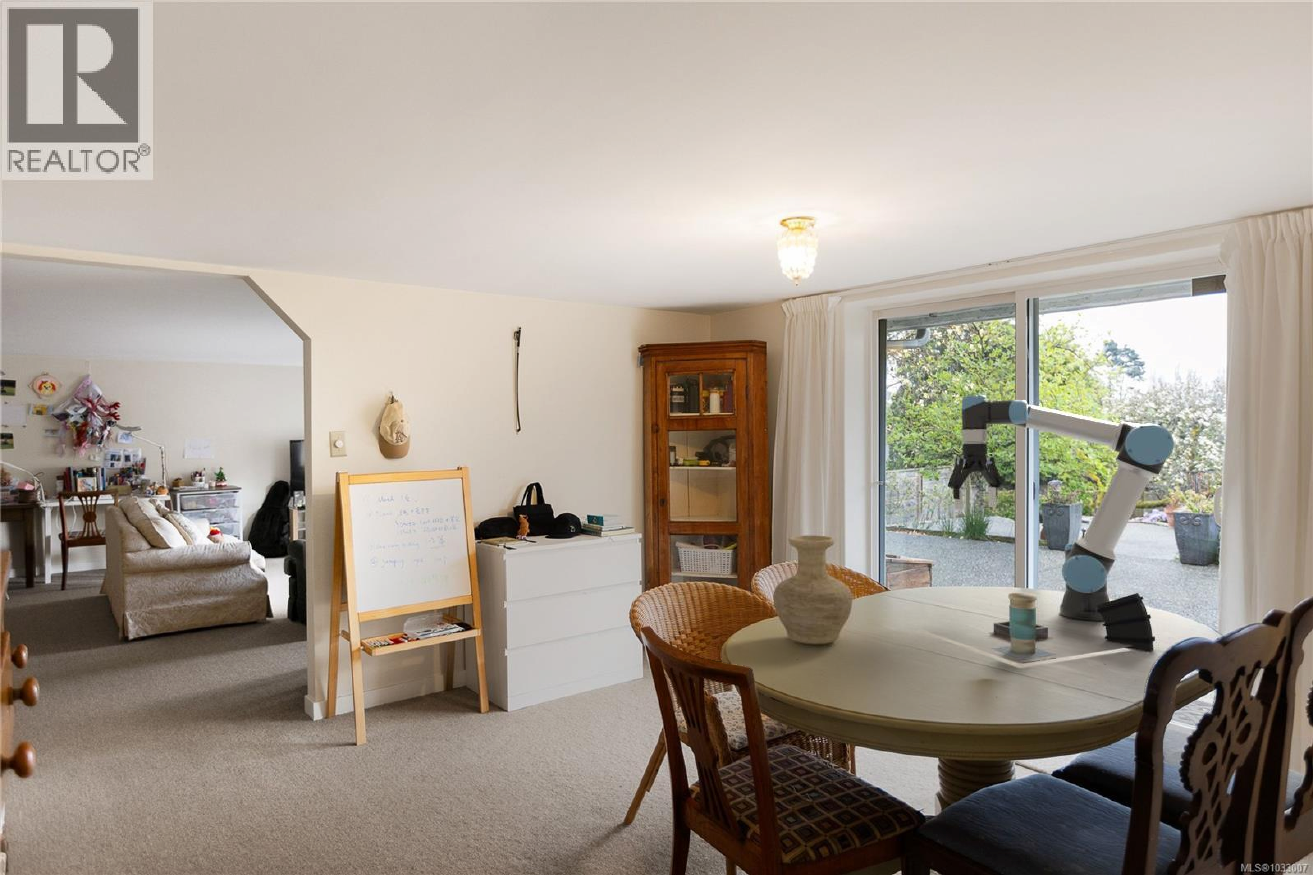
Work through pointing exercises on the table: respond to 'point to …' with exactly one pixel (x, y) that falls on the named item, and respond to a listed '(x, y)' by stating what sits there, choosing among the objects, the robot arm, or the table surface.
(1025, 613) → the disc
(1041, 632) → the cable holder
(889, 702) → the table surface
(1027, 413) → the robot arm
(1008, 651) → the rubber mat
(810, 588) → the vase
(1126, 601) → the magazine
